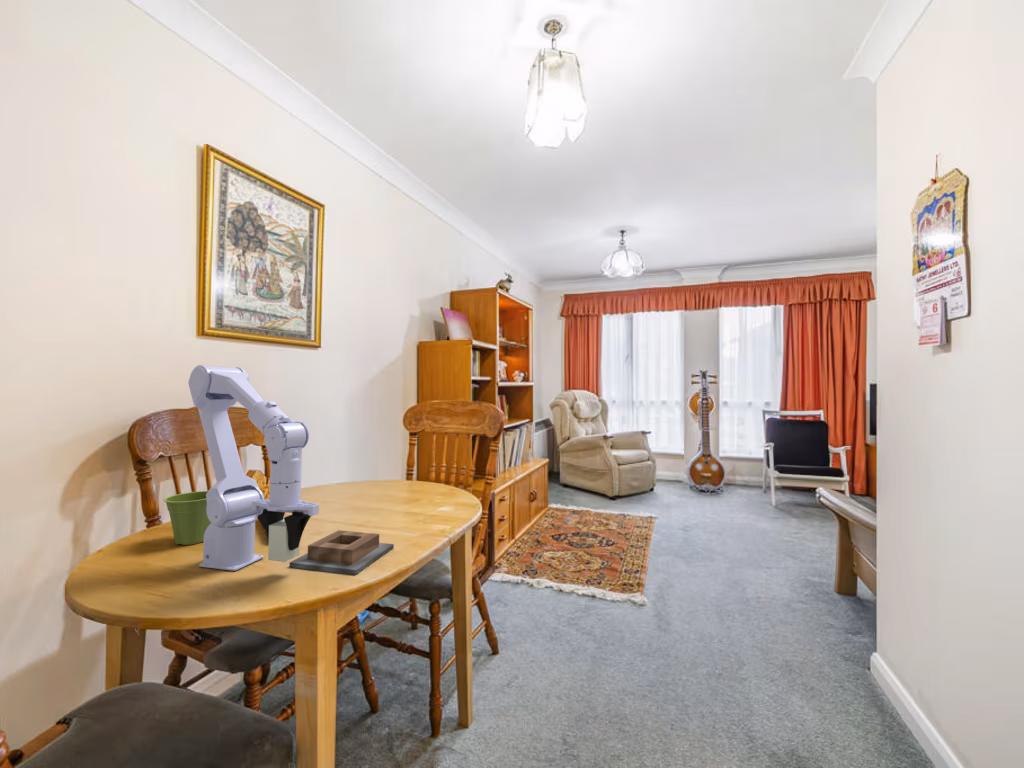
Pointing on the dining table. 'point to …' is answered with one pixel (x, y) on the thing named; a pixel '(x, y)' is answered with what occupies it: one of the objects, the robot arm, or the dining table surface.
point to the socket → (343, 552)
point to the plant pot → (188, 516)
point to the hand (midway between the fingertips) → (284, 547)
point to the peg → (280, 543)
